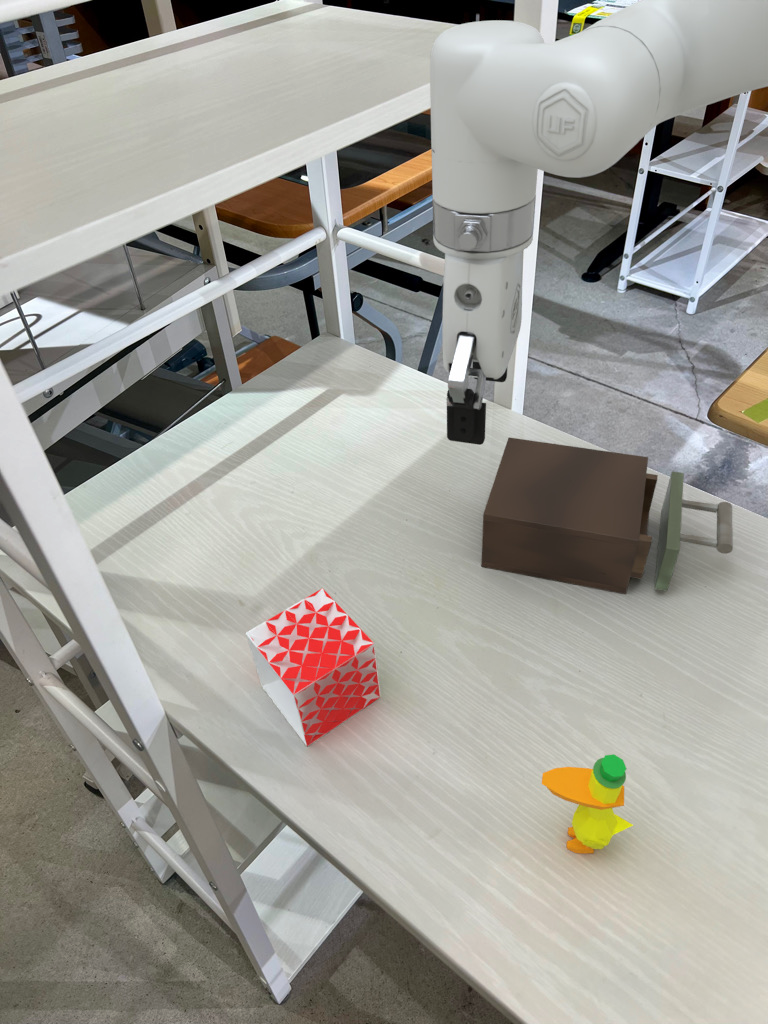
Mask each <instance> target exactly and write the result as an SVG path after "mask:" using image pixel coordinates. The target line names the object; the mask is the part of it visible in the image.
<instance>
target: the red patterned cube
mask: <svg viewBox="0 0 768 1024" xmlns="http://www.w3.org/2000/svg"><path fill="white" fill-rule="evenodd" d="M245 637H246V640H247V643H248V646H249V650H250V652H251V656H252V660H253V664H254V667H255V669H256V673H257V676H258V679H259V682H260V685H261V687H262V689H263V690H264V691H265V692H266V694H267V695H268V697H269V698H270V699H271V702H273V703H274V705H275V706H276V707H277V709H278V710H279V711H280V713H281V714H282V716H283V717H284V718H285V720H286V721H287V722H288V724H289V725H290V726H291V727H292V729H293V730H294V732H295V733H296V734H297V735H298V737H299V738H300V740H301V741H302V742H303V744H304V745H305V746H306V747H307V748H308V747H309V746H311V745H312V744H313V743H315V742H317V741H318V740H319V739H321V738H322V737H324V736H325V735H327V734H329V733H330V732H331V731H333V730H334V729H336V728H337V727H339V726H340V725H342V724H343V723H344V722H346V721H347V720H349V719H351V718H352V717H354V716H355V715H356V714H358V713H359V712H360V711H362V710H364V709H366V708H367V707H368V706H370V705H371V704H373V703H374V702H376V701H377V700H379V699H380V698H381V696H382V694H381V687H380V677H379V669H378V662H377V651H376V645H375V642H374V641H373V640H372V639H371V638H370V637H369V636H368V634H366V632H365V631H363V629H362V628H361V627H360V626H359V625H358V624H357V623H356V622H355V620H353V619H352V618H351V616H349V614H348V613H347V612H346V611H345V610H344V609H343V608H342V607H341V606H340V605H339V604H338V602H337V601H336V600H334V598H333V597H332V596H331V595H330V594H329V593H328V592H327V591H326V590H325V589H324V588H323V587H321V588H320V589H319V590H317V591H315V592H313V593H311V594H309V595H308V596H306V597H305V598H303V599H301V600H299V601H297V602H296V603H294V604H292V605H291V606H289V607H287V608H285V609H284V610H282V611H280V612H279V613H277V614H275V615H274V616H272V617H270V618H268V619H267V620H265V621H263V622H262V623H260V624H258V625H256V626H254V627H253V628H251V629H250V630H248V631H246V632H245Z"/></svg>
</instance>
